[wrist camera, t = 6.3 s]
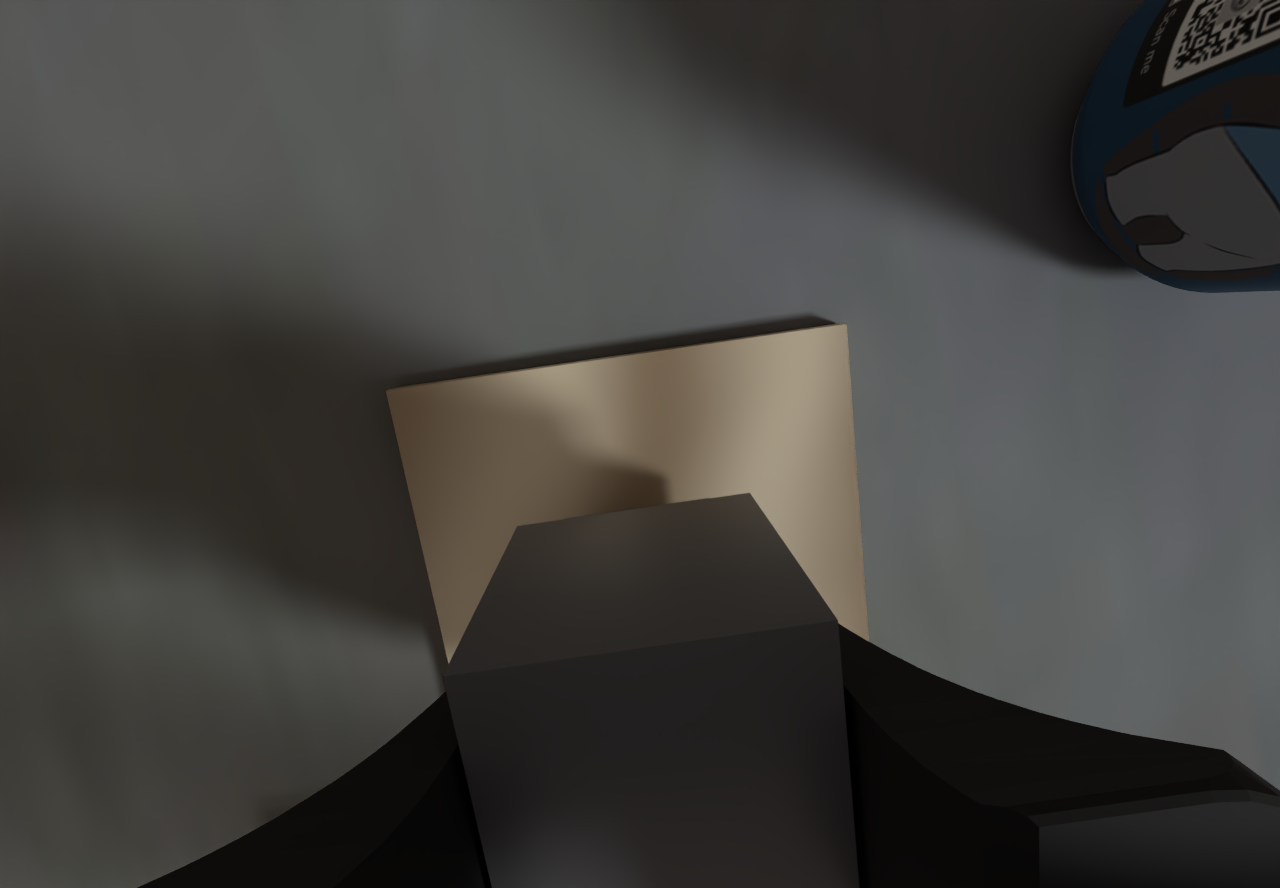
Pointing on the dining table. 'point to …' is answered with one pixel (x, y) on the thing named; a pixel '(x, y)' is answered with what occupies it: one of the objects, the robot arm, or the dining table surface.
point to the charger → (655, 707)
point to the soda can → (1187, 145)
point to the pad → (638, 454)
